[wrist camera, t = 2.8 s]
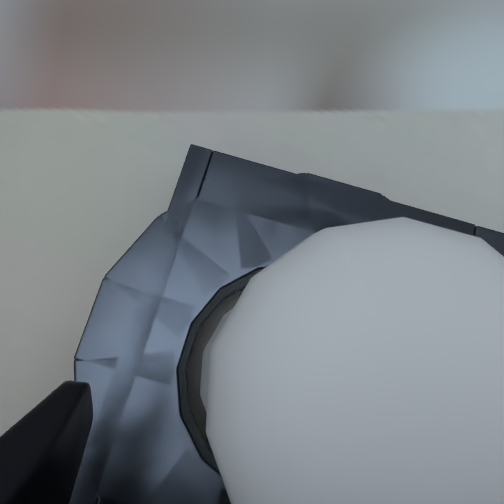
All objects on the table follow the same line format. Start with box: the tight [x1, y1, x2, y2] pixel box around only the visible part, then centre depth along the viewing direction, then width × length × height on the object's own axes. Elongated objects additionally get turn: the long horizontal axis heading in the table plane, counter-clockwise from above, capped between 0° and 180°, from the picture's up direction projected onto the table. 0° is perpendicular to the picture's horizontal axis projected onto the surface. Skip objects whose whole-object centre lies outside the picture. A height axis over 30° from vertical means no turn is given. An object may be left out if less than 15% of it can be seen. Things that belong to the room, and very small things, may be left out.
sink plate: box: [69, 144, 504, 504], centre depth 16 cm, size 25×13×2 cm, turn 74°
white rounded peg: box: [200, 217, 504, 504], centre depth 11 cm, size 6×6×13 cm
